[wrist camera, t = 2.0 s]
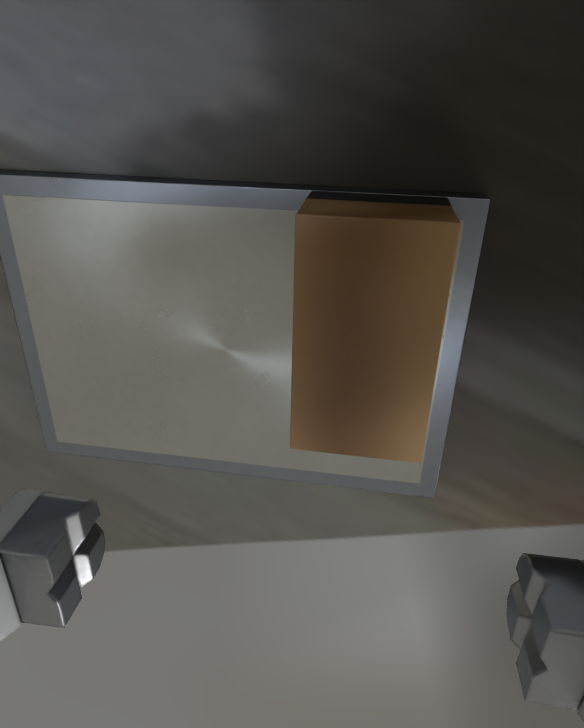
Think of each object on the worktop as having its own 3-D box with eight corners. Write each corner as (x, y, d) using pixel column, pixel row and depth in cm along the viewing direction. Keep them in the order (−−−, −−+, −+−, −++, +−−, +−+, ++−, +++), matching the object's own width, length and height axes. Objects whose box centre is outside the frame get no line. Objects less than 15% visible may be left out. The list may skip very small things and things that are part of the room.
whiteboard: (486, 193, 20) (491, 199, 19) (432, 484, 27) (434, 498, 26) (-4, 169, 23) (-21, 173, 22) (56, 440, 29) (45, 452, 28)
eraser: (447, 196, 20) (461, 222, 16) (416, 407, 24) (421, 463, 20) (311, 190, 20) (295, 213, 17) (303, 396, 24) (289, 449, 21)
